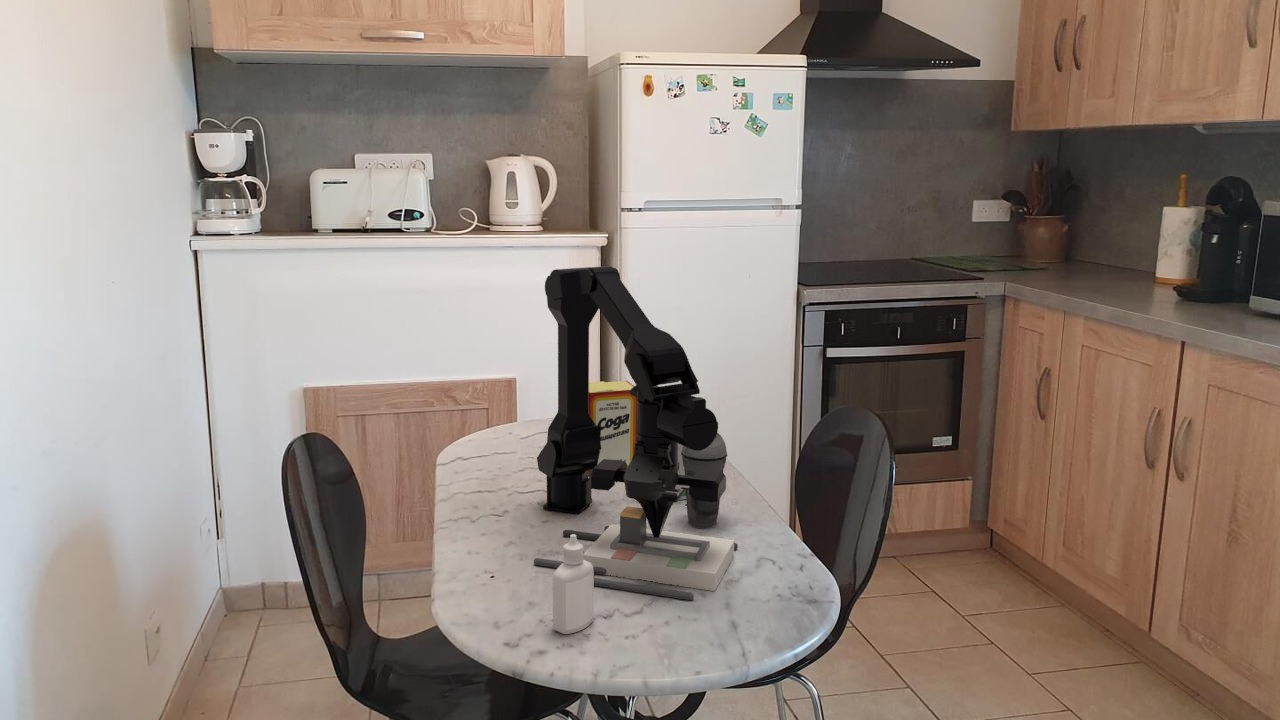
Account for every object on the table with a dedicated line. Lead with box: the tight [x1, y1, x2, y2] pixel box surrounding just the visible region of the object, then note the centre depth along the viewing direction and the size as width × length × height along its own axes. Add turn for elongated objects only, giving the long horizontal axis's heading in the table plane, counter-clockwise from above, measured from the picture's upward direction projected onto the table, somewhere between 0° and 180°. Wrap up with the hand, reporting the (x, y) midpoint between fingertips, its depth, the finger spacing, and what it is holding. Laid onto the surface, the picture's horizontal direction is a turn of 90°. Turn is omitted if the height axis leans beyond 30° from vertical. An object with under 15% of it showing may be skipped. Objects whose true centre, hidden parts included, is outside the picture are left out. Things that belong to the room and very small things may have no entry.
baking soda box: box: [588, 380, 637, 478], centre depth 179 cm, size 10×6×16 cm
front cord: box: [533, 557, 695, 601], centre depth 134 cm, size 24×4×1 cm, turn 72°
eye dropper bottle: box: [552, 534, 595, 635], centre depth 121 cm, size 4×6×12 cm
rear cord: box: [562, 525, 739, 550], centre depth 147 cm, size 26×4×1 cm, turn 72°
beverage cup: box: [681, 432, 728, 529], centre depth 153 cm, size 7×7×20 cm
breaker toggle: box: [619, 505, 647, 546], centre depth 140 cm, size 3×3×5 cm
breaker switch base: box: [583, 523, 735, 592], centre depth 140 cm, size 19×12×3 cm, turn 72°
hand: (657, 536), depth 139 cm, fingers closed
